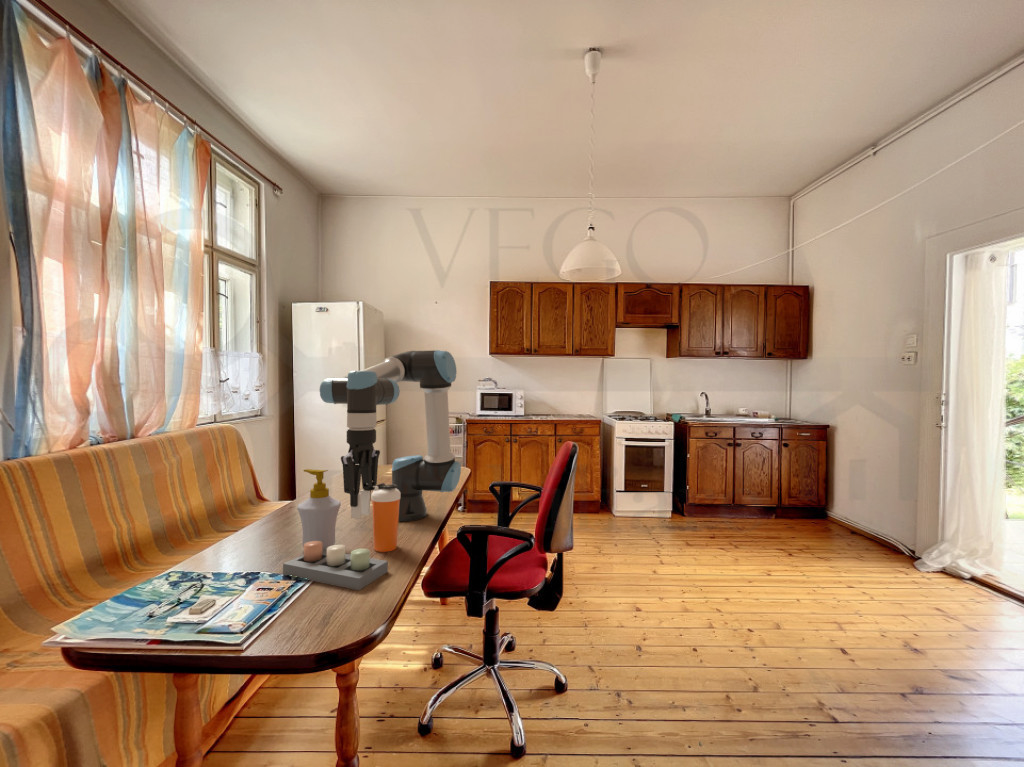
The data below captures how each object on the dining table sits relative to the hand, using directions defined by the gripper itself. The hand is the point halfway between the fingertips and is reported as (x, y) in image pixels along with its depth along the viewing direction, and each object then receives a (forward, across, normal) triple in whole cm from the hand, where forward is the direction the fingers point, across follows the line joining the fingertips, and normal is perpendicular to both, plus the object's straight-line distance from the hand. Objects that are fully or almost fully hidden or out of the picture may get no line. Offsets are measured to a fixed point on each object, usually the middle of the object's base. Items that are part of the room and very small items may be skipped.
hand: (360, 516), depth 122 cm
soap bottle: (+17, -13, -26) cm, 34 cm away
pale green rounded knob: (+14, 0, 0) cm, 14 cm away
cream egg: (+14, 0, -8) cm, 16 cm away
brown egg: (+14, 0, -16) cm, 21 cm away
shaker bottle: (+17, -21, -7) cm, 28 cm away
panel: (+17, 0, -8) cm, 18 cm away
